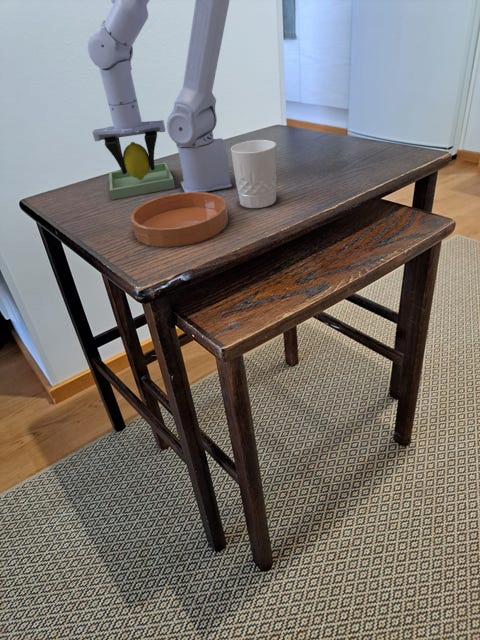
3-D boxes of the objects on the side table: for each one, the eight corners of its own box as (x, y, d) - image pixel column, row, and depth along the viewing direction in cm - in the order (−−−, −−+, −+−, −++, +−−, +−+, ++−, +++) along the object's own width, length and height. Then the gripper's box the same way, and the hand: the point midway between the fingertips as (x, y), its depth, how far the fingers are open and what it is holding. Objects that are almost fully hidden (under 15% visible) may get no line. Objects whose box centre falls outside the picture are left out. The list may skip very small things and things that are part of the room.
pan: (217, 201, 85) (215, 186, 84) (237, 234, 72) (235, 217, 71) (132, 217, 83) (128, 202, 81) (137, 254, 70) (133, 237, 68)
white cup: (243, 213, 79) (237, 155, 73) (232, 199, 86) (225, 144, 80) (285, 204, 80) (282, 147, 75) (271, 191, 87) (267, 137, 81)
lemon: (149, 174, 101) (141, 137, 96) (156, 180, 97) (148, 141, 92) (125, 179, 99) (116, 142, 95) (132, 186, 95) (122, 147, 90)
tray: (168, 170, 105) (166, 162, 104) (175, 188, 94) (173, 178, 93) (111, 181, 103) (109, 172, 102) (112, 199, 92) (109, 190, 91)
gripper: (83, 111, 85) (103, 181, 93) (158, 100, 86) (172, 171, 94) (88, 104, 91) (106, 171, 99) (159, 95, 92) (172, 162, 100)
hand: (138, 170), depth 97 cm, fingers closed on lemon, 5 cm apart
